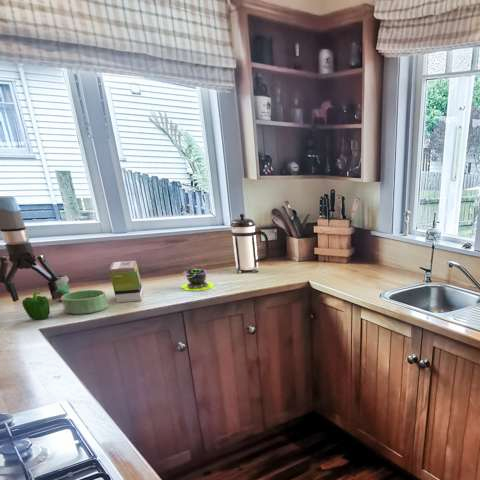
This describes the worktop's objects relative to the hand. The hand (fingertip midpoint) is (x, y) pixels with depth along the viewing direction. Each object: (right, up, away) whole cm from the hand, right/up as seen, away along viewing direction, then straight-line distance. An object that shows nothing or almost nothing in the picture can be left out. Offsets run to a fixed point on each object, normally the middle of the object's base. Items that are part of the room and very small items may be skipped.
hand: (35, 299), depth 176 cm
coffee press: (+60, +29, +81) cm, 105 cm away
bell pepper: (0, -7, +3) cm, 7 cm away
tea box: (+20, +6, +30) cm, 37 cm away
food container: (-7, +5, +27) cm, 28 cm away
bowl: (+11, -2, +14) cm, 18 cm away
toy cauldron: (+43, +14, +48) cm, 66 cm away
